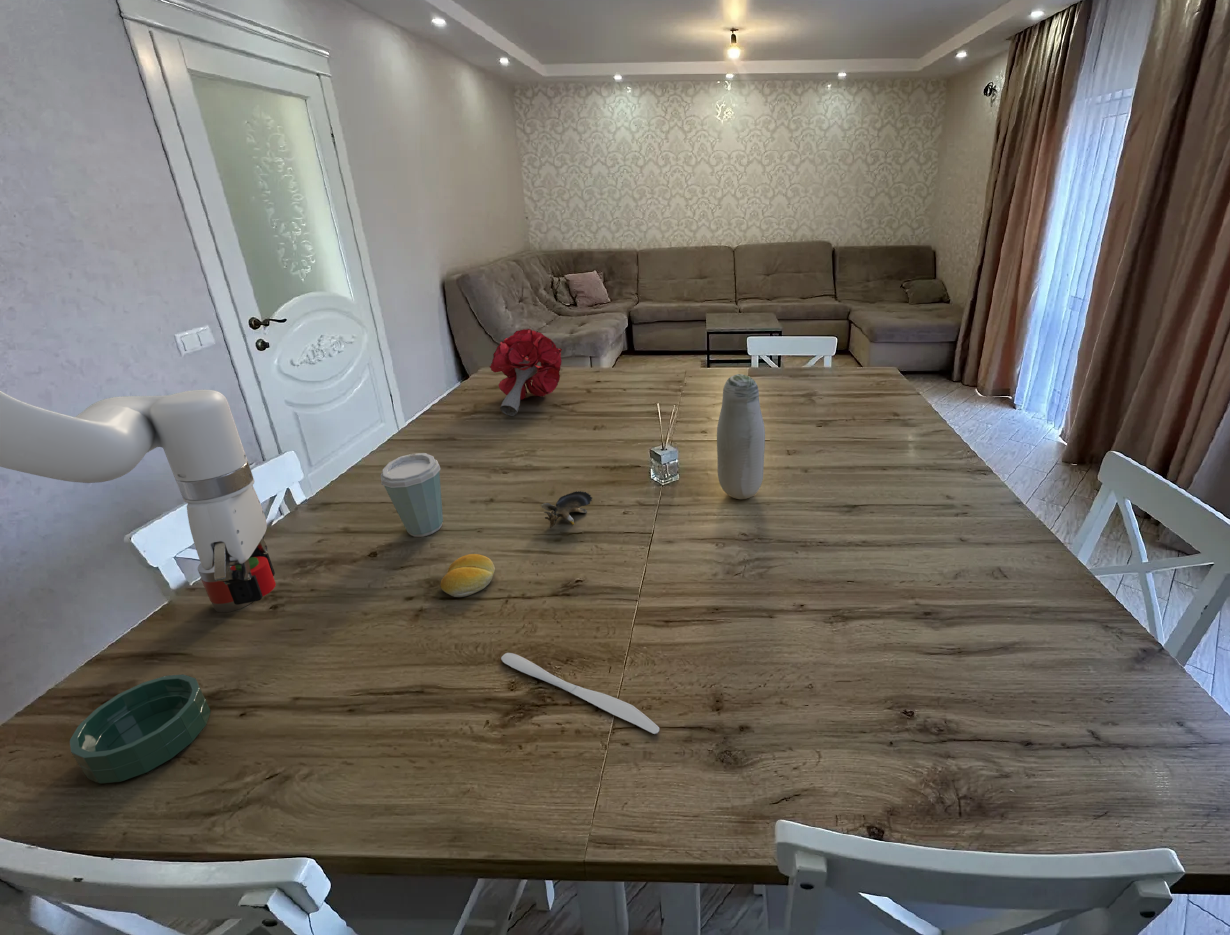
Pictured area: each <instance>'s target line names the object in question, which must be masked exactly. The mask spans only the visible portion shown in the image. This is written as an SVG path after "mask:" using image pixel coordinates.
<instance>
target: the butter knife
mask: <svg viewBox="0 0 1230 935" xmlns="http://www.w3.org/2000/svg"><path fill="white" fill-rule="evenodd" d="M500 659H501V661H502V663H504V664H505V665H507V666H509V667H511V668H512V669H515V670H517V671H519V672H521V673H523V674H526V675H528V676H530V677H533V678H536V679H538V680H541V681H544V682H546V683H548V684H551V685H552V686H555V687H558V688H560V689H562V690H564V691H566V692H567V693H568V692H569V693H570V694H572V695H574V696H576V697H578V698H580V699H582V700H584V701H587V702H588V703H590V704H592V705H593V706H595V707H598V708H599V709H601V710H603V711H605V712H607V713H609V714H610V715H613V716H615V717H618V718H620V719H622V720H624V721H627V722H629V723H631V724H633V725H636V726H637V727H639V728H641V729H643V730H645V731H647V732H649V733H651V734H652V735H653V734H654V735H657V734H658V733H659V732H660V727H659V726H658V725H657V724H656V723H655V722H654V721H653V720H652V719H650V718H649V717H648V716H647V715H646V714H645V713H643V712H642V711H641V710H639V709H638V708H637V707H635V706H634V705H633V704H630V703H629V702H626V701H624V700H621V699H619V698H617V697H614V696H611V695H609V694H607V693H604V692H600V691H596V690H592V689H589V688H585V687H582V686H579V685H576V684H575V683H571V682H568V681H566V680H564V679H562V678H560V677H559V676H556V675H554V674H552V673H550V672H548V670H545V669H544V668H542V667H541V666H539V665H538V664H536V663H534V662H532V661H530V660H528V659H527V658H525V657H523V656H521V655H518V654H516V653H513V652H506V653H504V654H503V655H502V656H501V657H500Z"/></svg>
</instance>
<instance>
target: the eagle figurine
mask: <svg viewBox="0 0 1230 935" xmlns="http://www.w3.org/2000/svg"><path fill="white" fill-rule="evenodd" d="M592 501H593V497H592V496H591V494H590V493H588V492H586V491H581V490H580V491H579V490H578V491H577V490H576V491H573V492H570V493H567V494H565V495H562V496H560V497H559V498H558V499H557V502H556V503H555V504H551V503H550V502H544V503H542V504H541V505H540V506H541V508H542V509H544V510H545V511H543V513H544V514H547V516H545V517H544V519H545V520H547V521H549V527H550V528H553V527H554V526H555V524H556V522H557V520H558V519H560V518H562V519H564V520H566V521H568V522H569V523H570V524H571V525H572V526H574V525H575V522H574V521H575V520H574V518H573V517H572V516H571V515H570V513H580V514H581V513H582V514H587V513H588V510H587V509H586V508H583V507H585V506H588V505H590V504H591V502H592ZM550 511H551V512H550Z"/></svg>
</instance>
